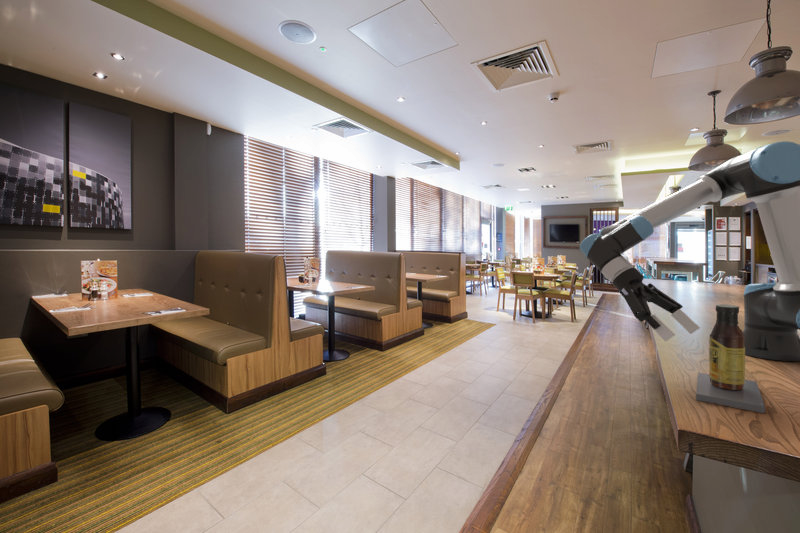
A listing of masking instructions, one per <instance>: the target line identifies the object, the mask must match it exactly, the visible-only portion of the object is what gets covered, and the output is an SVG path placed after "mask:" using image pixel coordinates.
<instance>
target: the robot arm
mask: <svg viewBox="0 0 800 533" xmlns="http://www.w3.org/2000/svg"><path fill="white" fill-rule="evenodd" d="M696 179H697V180H696V182H694V183H692V184H689V185H688V186H685V187H684V188H682V189H680V190H678V191H675V192H674V193H672V194H670V195H668V196H665V197H664V198H662V199H660V200H658V201H656V202H654V203H652V204H650V205H648V206H646V207H645V208H643V209H641V210H638V211H636V212H634V213H632V214H630V215H629V216H626V217H625V218H623V219H621V220H618V221H617V222H615V223H612V224H610V225H607V226H605V227H603V228H602V229H600V230H599V232H595V233H594V232H593V233H592V234H590V235H588V236H586V237H585V238H584V239H583V240H582V241H581V242H580V244H579V250H580V252H581V253H582V254H583V255H584V257H585V258H586V259H587V260H588V261H589V262H590V263H591V264H592V265H594V266H595V268H596V269H597V270H598V271H600V273H601V274H602V275H603V276H604V278H605V279H606V280H608V281H609V282H610V283H612V285H613V287H615V289H617V290H618V291H619V294H620V295H621V296H622V297H623V299H624V300H625V301H626V304H627V305H628V307H629V309H630V311H631V313H632V314H633V316H634V318H636V319H637V320H638V321H639V322H641V323H642V322H646V323H647V324H648V325H649V327H650V328H651V329H652V330H654V332H656V334H657V335H658V336H659V337H660V338H661V339H662V340H663V341H664V342H667V341H669V340H670V339H672V338H673V337H675V335H676V334H675V332H673V331H672V330H671V329H670V328H669V327H668V326H667V325H666V324H665V323H664V322H663V321H662V320H661V318H659V317H658V316H657V315H656V314H654V313H653V314H652V311H651V309H650V307H649V304H648V303H651V304H654V305H656V306H658V307H659V308H662V309H663V310H665V311H666V312H668V313H670V316H671V317H672V318H673V319H674V320H675V321H676V322H677V323H678V324H680V326H682V327H683V329H685V330H686V331H687V332H688V333H689V335H691V334H693V333H695V332H697V331H699V329H701V327H700V326H699V325H698V324H697V323H696V322H695V321H693V319H691V318H690V317H689V316H688V315H687V313H685V312H684V311H683V310H682V308H683V305H682V304H680V303H679V302H677V300H675V299H673V298H672V297H670V296H669V295H667V294H666V293H664V291H661V290H660V289H658V288H657V287H656V286H655V285H654V284H652V283H650V282H649V283H648V284H647V285H646V284H645V283H643V281H644V278H645V277H644V275H643V273H641V272H640V271H639V270H638V269H637V267H634V265H633V264H632V263H631V262H630V261H629V260H628V259H627V258H626V257H625V256H623V253H625V252H627V251H628V250H630V249H632V248H634V247H635V246H637V245H639V244H640V243H642V242H644V241H646V240H647V239H648V238H649V237H650V236H652V235H653V234H654V233H655V232H654V229H656V228H659V227H661V226H662V225H665V224H666V223H669V222H670V221H673V220H675V219H677V218H679V217H681V216H684V215H685V214H687V213H689V212H691V211H693V210H696V209H697V208H700V207H701V206H704V205H706V204H708V203H710V202H711V203H717V202H720V201H721V200H724V199H725V198H728V197H732V196H735V195H739V194H742V193H744V195H745V197H746V200H748V201H751V202H752V203H755V204H756V209H757V212H758V215H759V218H760V222H761V225H762V229H763V231H764V232H763V233H764V236H765V240H766V242H767V246H768V248H769V252H770V257H771V260H772V263H773V266H774V270H775V273H776V276H777V279H778V281H777V282H771V283H769V282H768V283H767V282H766V283H749V284H746V286H745V287H744V292H743V297H744V298H743V301H744V304H743V306H744V308H743V309H744V311H743V314H744V317H743V318H744V320H743V321H744V323H743V324H744V326H743V327H744V328H743V330H742V332H743V333H744V336H745V341H744V344H745V356H746V355H747V356H750V357H754V358H760V359H764V360H772V361H780V362H781V361H783V362H800V335H799V334H798V333H799V332H798V330H800V144H799V143H796V142H793V141H783V140H782V141H776V142H772V143H769V144H763V145H762V146H760V147H756V148H754V149H753V150H750V151H747V152H744V153H741V154H739V155H737V156H734V157H732V158H730V159H728V160H727V161H725V162H723V163H722V164H720V165H718V166H717V167H714V168H713V169H711V170H709V172H706V173H704V174H703V175H700V176H699V177H698V178H696Z"/></svg>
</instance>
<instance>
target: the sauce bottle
mask: <svg viewBox="0 0 800 533" xmlns="http://www.w3.org/2000/svg"><path fill="white" fill-rule="evenodd" d="M715 311H716V320H715V324H714V326H713V328H712V330H711V333H710V334H709V349H708V350H709V353H708V354H709V355H708V356H709V358H708V360H709V361H708V362H709V364H708V367H709V369H708V370H709V371H708V372H709V373H708V374H709V377H710V383H711V384H713V385H714V386H716V387H718V388H723V389H728V390H742V389H743V388H744V383H745V380H746V378H745V377H746V354H745V344H744V341H745V336H744V333H743V330H742V329H741V328H740V326H739V321H738V320H739V312H740V307H739V306H738V305H734V304H716V305H715Z"/></svg>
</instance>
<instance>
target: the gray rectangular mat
mask: <svg viewBox="0 0 800 533" xmlns="http://www.w3.org/2000/svg"><path fill="white" fill-rule="evenodd" d="M757 383H758V382H757V381H756V380H750V379H749V380H748V379H745V383H744V388H743V389H742V390H728V389H723V388H718V387H716V386H714V385H713V384H711V383H710V377H709V373H705V372H699V371H698V372H697V379H696V391H695V398H696V399H695V400H696V401H699V402H704V403H709V404H714V403H716V404H715V405H719V406H726V407H731V408H735V409H741V410H745V411H750V412H756V413H762V414H766V406H765V403H764V400H763V396H762V393H761V392H760V388H759V385H758V384H757Z"/></svg>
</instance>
